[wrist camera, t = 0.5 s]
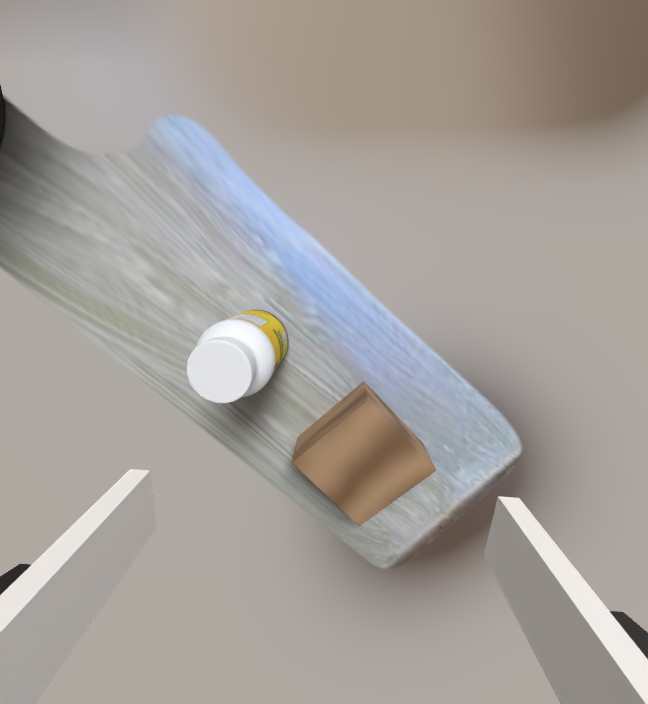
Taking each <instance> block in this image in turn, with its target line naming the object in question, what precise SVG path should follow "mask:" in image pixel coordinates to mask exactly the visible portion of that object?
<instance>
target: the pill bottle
mask: <svg viewBox="0 0 648 704" xmlns="http://www.w3.org/2000/svg"><path fill="white" fill-rule="evenodd" d="M287 349H288V334H287V331H286V328H285V327H284V325H283V323H282V322H281V321H280V320H279V319H278V318H277V317H276V316H274V315H273V314H271V313H269V312H267V311H263V310H249V311H245V312H243V313H240V314H238V315H235V316H233V317H230V318H228V319H225V320H223V321H220V322H218V323H216V324H214V325H212V326H211V327H209V328H208V329H207V330H206V331H205V332H204V333H203V334H202V336H201V337H200V339H199V341H198V343H197V346H196V348H195V349H194V350H193V352H192V353H191V354H190V356H189V359H188V362H187V376H188V379H189V382H190V384H191V386H192V387H193V388H194V390H195V391H196V392H197V393H198V394H199V395H201V396H202V397H203V398H205V399H207V400H209V401H212V402H215V403H229V402H233V401H236V400H237V399H239V398H241V397H246V396H249V395H252V394H254V393H256V392H258V391H259V390H261V389H262V388H263V387H264V386H265V385H266V384H267V383H268V381H269V380H270V378H271V377H272V375H273V373H274V372H275V370H276V369H277V367H278V366H279V364H280V363H281V361H282V360H283V358H284V356H285V354H286V352H287Z"/></svg>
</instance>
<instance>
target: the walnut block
mask: <svg viewBox="0 0 648 704" xmlns="http://www.w3.org/2000/svg"><path fill="white" fill-rule="evenodd" d="M292 463H293V464H294V465H295V466H296V467H297V468H298V469H299V470H300V471H301V472H302V473H303V474H304V475H305V476H307V477H308V478H309V479H310V480H311V481H312V482H313V483H314V484H315V485H316V486H317V487H318V488H319V489H320V490H321V491H323V492H324V493H325V494H326V495H327V496H328V497H329V498H330V499H331V500H332V501H333V502H334V503H335V504H336V505H337V506H339V507H340V508H341V509H342V510H343V511H344V512H345V513H346V514H347V515H348V516H349V517H350V518H351V519H352V520H353V521H354V522H356V523H357V524H358V525H359V526H360V525H361V524H363V523H364V522H365V521H367V520H368V519H370V518H371V517H372V516H374V515H375V514H377V513H378V512H379V511H381V510H382V509H383V508H385V507H386V506H388V505H389V504H390V503H392V502H393V501H395V500H396V499H397V498H399V497H400V496H401V495H403V494H404V493H406V492H407V491H408V490H410V489H411V488H413V487H414V486H415V485H417V484H418V483H419V482H421V481H422V480H424V479H425V478H426V477H428V476H429V475H431V474H432V473H433V472H435V471H436V469H435V467H434V465H433V463H432V461H431V459H430V457H429V455H428V453H427V451H426V449H425V447H424V445H423V443H422V442H421V441H420V440H419V439H418V438H417V437H416V436H415V434H414V433H413V432H412V431H411V430H410V429H409V428H408V427H407V426H406V425H405V424H404V423H403V422H402V421H401V420H400V419H399V418H398V417H397V416H396V415H395V413H394V412H393V411H392V410H391V409H390V408H389V407H388V406H387V405H386V404H385V403H384V402H383V401H382V400H381V399H380V398H379V397H378V396H377V395H376V394H375V392H374V391H373V390H372V389H371V388H370V387H369V386H368V385H367V384H366V383H365V382H363V383H361V384H360V385H359V386H358V387H357V388H355V389H354V390H353V391H352V392H351V393H350V394H348V395H347V396H346V397H345V398H344V399H342V400H341V401H340V402H339V403H338V404H337V405H335V406H334V407H333V408H332V409H331V410H329V411H328V412H327V413H326V414H325V415H323V416H322V417H321V418H320V419H319V420H318V421H316V422H315V423H314V424H313V425H312V426H310V427H309V428H308V429H307V430H306V431H305V432H303V433H302V434H301V435H300V436H299V437H298V440H297V444H296V448H295V452H294V456H293V461H292Z"/></svg>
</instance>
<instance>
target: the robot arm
mask: <svg viewBox="0 0 648 704" xmlns="http://www.w3.org/2000/svg"><path fill="white" fill-rule="evenodd" d="M3 125H4V103H3V95H2V90H1V86H0V140H1V136H2V131H3ZM155 531H156V524H155V514H154V504H153V494H152V484H151V474H150V470H135V469H130V470H129V471H128V472H127V473H126V474H125V475H124V476H123V477H122V478H121V479H120V480H119V481H118V482H117V483H116V484H114V486H112V487H111V488H110V489H109V490H108V491H107V492H106V494H104V495H103V496H102V497H101V498H100V499H99V500H98V501H97V502H96V503H95V504H94V505H93V506H92V507H91V508H90V509H89V510H88V511H87V512H86V513H85V514H84V515H83V516H82V517H81V518H79V519H78V521H76V522H75V523H74V525H72V526H71V527H70V528H69V529H68V530H67V531H66V532H65V533H64V534H63V535H62V536H61V537H60V538H59V539H58V540H57V541H56V542H55V543H54V544H53V545H52V546H51V547H50V548H49V549H48V550H46V552H44V553H43V554H42V555H41V556H40V557H39V558H38V559H37V560H36V561H35V562H34V563H33V564H32V565H28V564H19V565H18V566H16V567H15V568H13V569H11V570H10V571H8V572H7V573H5V574H4V575H2V576H0V704H36V702H37V701H38V700H39V698H40V697H41V695H42V694H43V692H44V691H45V689H46V688H47V687H48V685H49V684H50V682H51V681H52V679H53V678H54V676H55V675H56V674H57V672H58V671H59V669H60V668H61V666H62V665H63V663H64V662H65V661H66V659H67V658H68V656H69V655H70V653H71V652H72V650H73V649H74V648H75V646H76V645H77V643H78V642H79V640H80V639H81V637H82V636H83V635H84V633H85V632H86V630H87V629H88V627H89V626H90V624H91V623H92V622H93V620H94V619H95V617H96V616H97V614H98V613H99V611H100V610H101V609H102V607H103V606H104V604H105V603H106V601H107V600H108V598H109V597H110V596H111V594H112V593H113V591H114V589H115V588H116V587H117V585H118V584H119V583H120V581H121V580H122V578H123V577H124V575H125V574H126V572H127V571H128V570H129V568H130V567H131V565H132V564H133V562H134V561H135V559H136V558H137V557H138V555H139V554H140V552H141V551H142V549H143V548H144V546H145V545H146V544H147V542H148V541H149V539H150V538H151V536H152V535H153V533H154V532H155ZM484 556H485V558H486V560H487V562H488V564H489V566H490V568H491V570H492V572H493V574H494V576H495V578H496V580H497V582H498V584H499V586H500V587H501V589H502V591H503V593H504V595H505V597H506V599H507V601H508V603H509V605H510V607H511V609H512V611H513V613H514V615H515V617H516V618H517V620H518V622H519V624H520V626H521V628H522V630H523V632H524V634H525V636H526V638H527V640H528V642H529V644H530V646H531V647H532V649H533V651H534V653H535V655H536V657H537V659H538V661H539V663H540V665H541V667H542V669H543V671H544V673H545V675H546V677H547V679H548V680H549V682H550V684H551V686H552V688H553V690H554V692H555V694H556V696H557V698H558V700H559V702H560V704H648V633H647V632H646V631H645V630H643V628H641V627H640V626H639V625H638V624H637V623H635V622H634V621H633V620H632V619H631V618H629V617H628V616H627V615H626V614H625V613H623V612H615V611H609V610H608V609H607V608H606V607H605V605H604V604H603V603H602V601H600V599H599V598H598V596H597V595H596V594H595V593H594V591H593V590H592V589H591V588H590V586H589V585H588V584H587V583H586V581H585V580H584V579H583V578H582V576H581V575H580V574H579V573H578V571H577V570H576V569H575V568H574V567H573V565H572V564H571V563H570V561H569V560H568V559H567V558H566V556H565V555H564V554H563V553H562V551H561V550H560V549H559V548H558V546H557V545H556V544H555V543H554V541H553V540H552V539H551V538H550V536H549V535H548V534H547V533H546V531H545V530H544V529H543V528H542V527H541V525H540V524H539V523H538V521H537V520H536V519H535V518H534V516H533V515H532V514H531V512H530V511H529V510H528V509H527V507H526V506H525V505H524V504H523V502H522V501H521V500H520V499H519V498H511V497H498V499H497V503H496V507H495V512H494V516H493V520H492V524H491V528H490V533H489V537H488V541H487V545H486V549H485V553H484Z"/></svg>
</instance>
